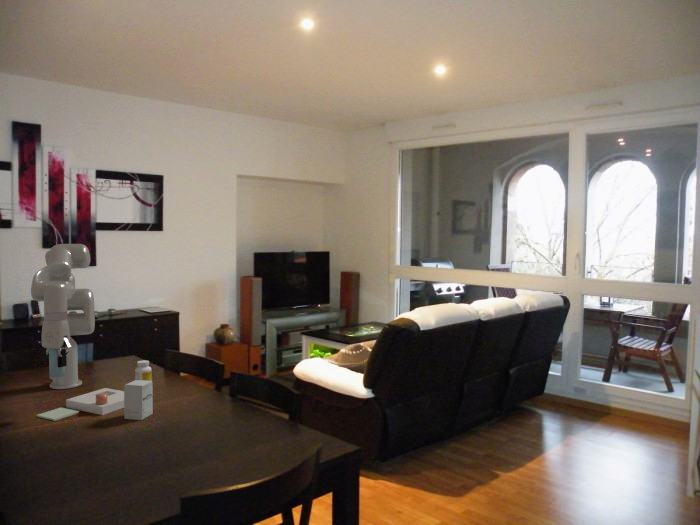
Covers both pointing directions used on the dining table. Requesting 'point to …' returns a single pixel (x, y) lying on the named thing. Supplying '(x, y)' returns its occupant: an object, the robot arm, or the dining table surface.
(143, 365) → the supplement bottle
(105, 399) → the knob
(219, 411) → the dining table surface
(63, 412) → the mat
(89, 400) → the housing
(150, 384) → the supplement box
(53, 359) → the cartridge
